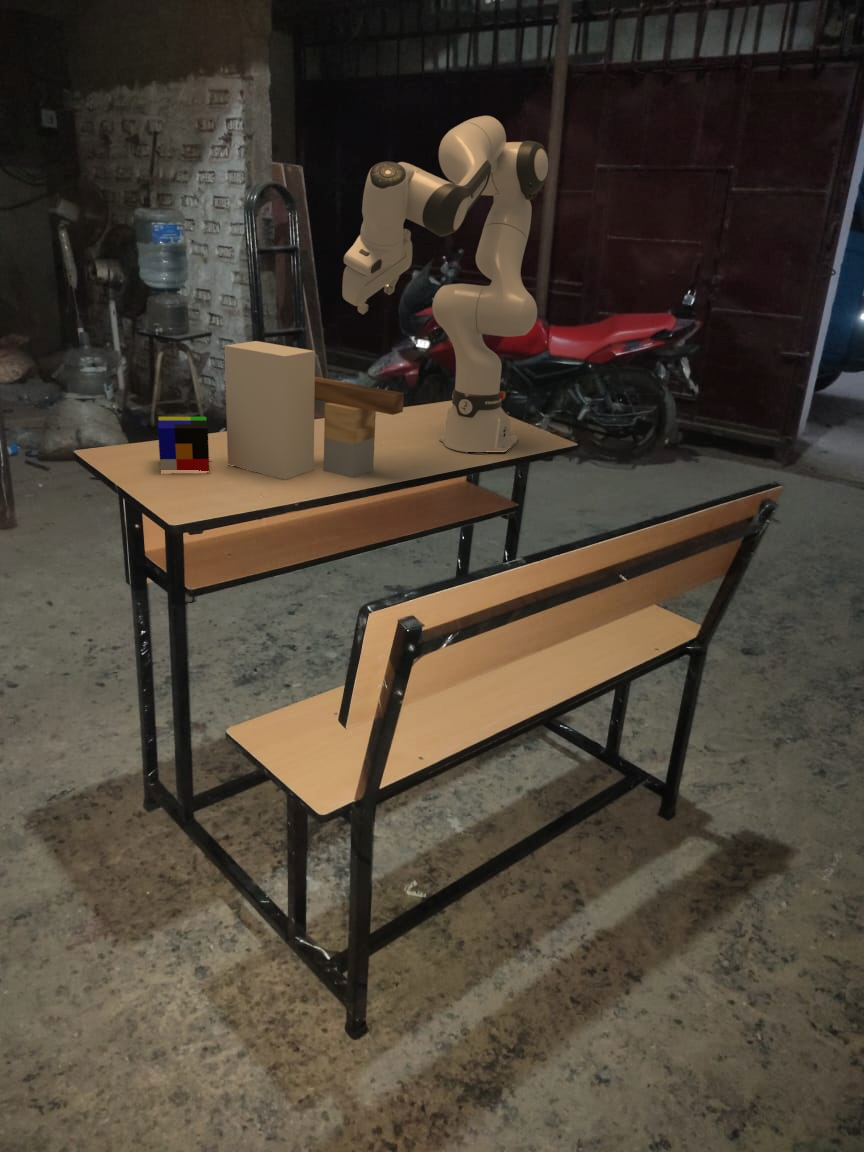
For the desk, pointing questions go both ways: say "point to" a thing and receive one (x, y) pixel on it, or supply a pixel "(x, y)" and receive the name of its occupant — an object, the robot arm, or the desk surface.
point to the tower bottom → (348, 457)
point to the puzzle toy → (183, 443)
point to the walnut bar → (358, 396)
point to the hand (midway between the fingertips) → (375, 301)
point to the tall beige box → (270, 408)
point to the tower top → (348, 423)
